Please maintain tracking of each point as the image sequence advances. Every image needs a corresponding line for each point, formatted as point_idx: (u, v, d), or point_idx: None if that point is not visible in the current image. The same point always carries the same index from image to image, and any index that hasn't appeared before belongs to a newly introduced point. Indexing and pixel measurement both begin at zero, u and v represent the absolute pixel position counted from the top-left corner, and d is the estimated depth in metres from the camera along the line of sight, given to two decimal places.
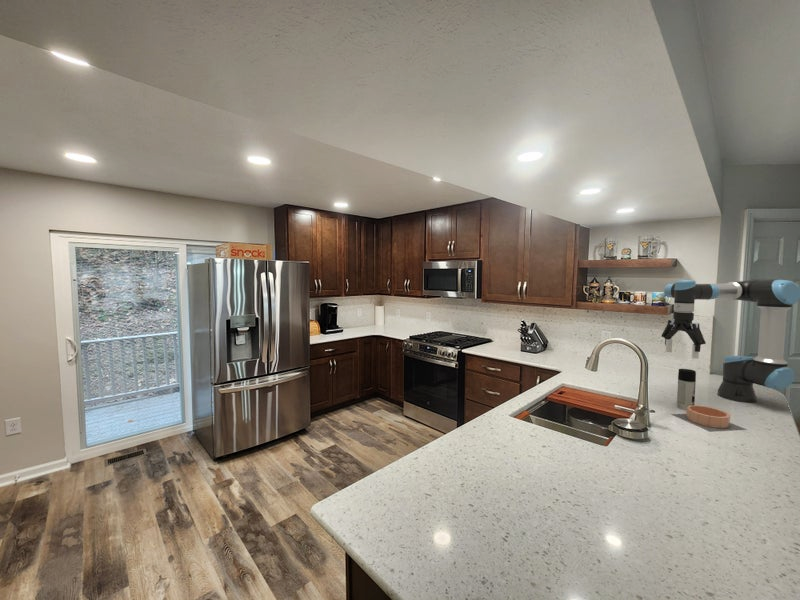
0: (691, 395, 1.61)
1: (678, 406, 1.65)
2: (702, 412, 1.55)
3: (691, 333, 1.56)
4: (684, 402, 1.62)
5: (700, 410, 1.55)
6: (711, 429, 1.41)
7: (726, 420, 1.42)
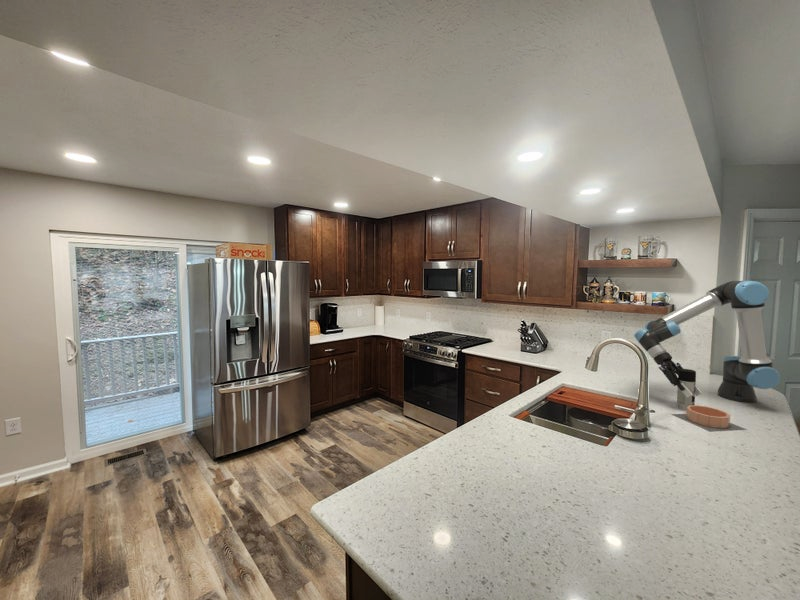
0: None
1: (678, 406, 1.65)
2: (702, 412, 1.55)
3: None
4: (684, 402, 1.62)
5: (700, 410, 1.55)
6: (711, 429, 1.41)
7: (726, 420, 1.42)
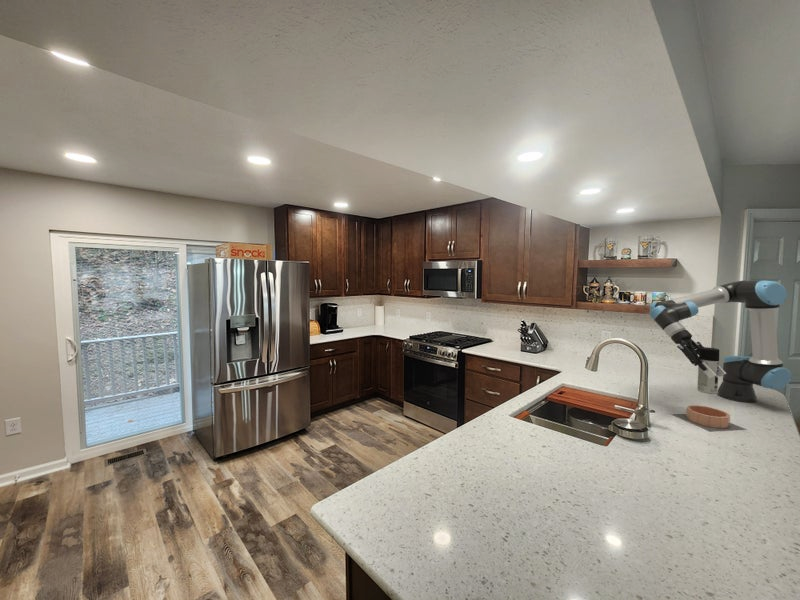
0: (714, 376, 1.45)
1: (699, 388, 1.49)
2: (702, 412, 1.55)
3: None
4: (706, 383, 1.47)
5: (700, 410, 1.55)
6: (711, 429, 1.41)
7: (726, 420, 1.42)
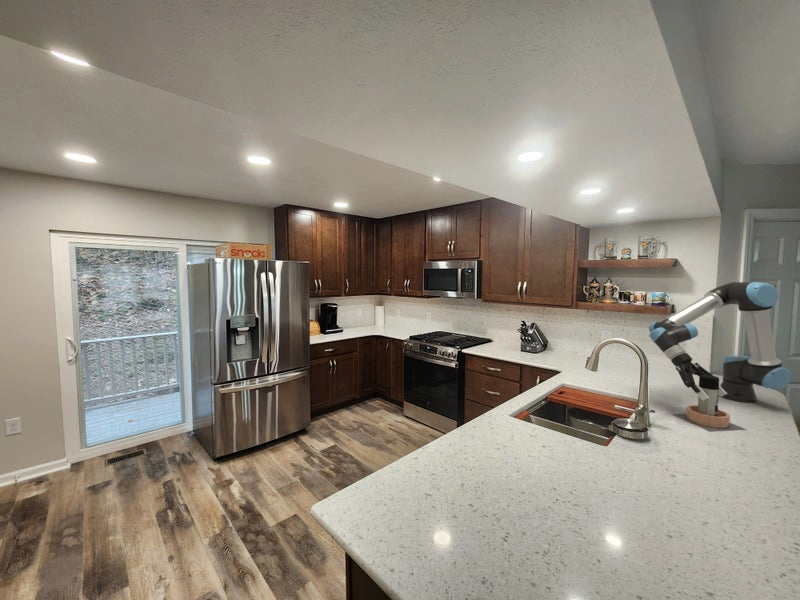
0: (714, 404, 1.46)
1: None
2: None
3: None
4: (706, 411, 1.47)
5: None
6: (711, 429, 1.41)
7: (726, 420, 1.42)
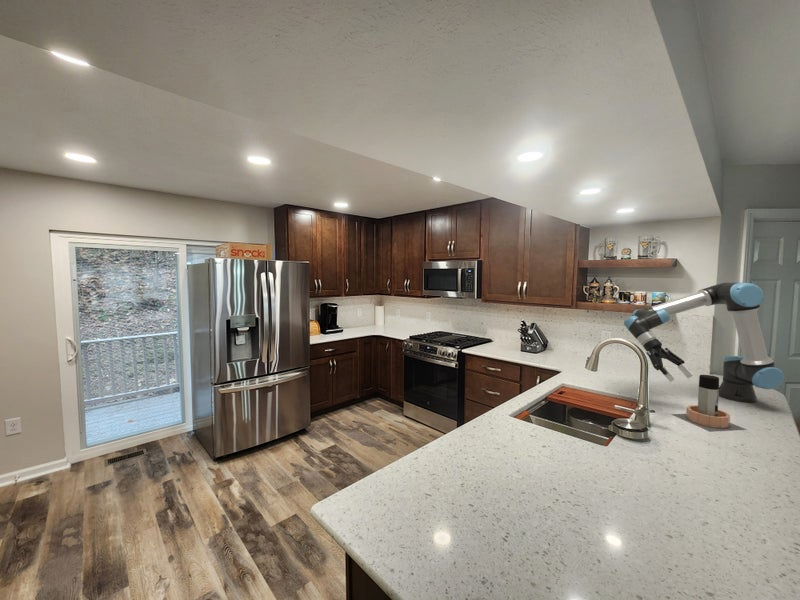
0: (714, 404, 1.46)
1: None
2: None
3: (656, 359, 1.64)
4: (706, 411, 1.47)
5: None
6: (711, 429, 1.41)
7: (726, 420, 1.42)
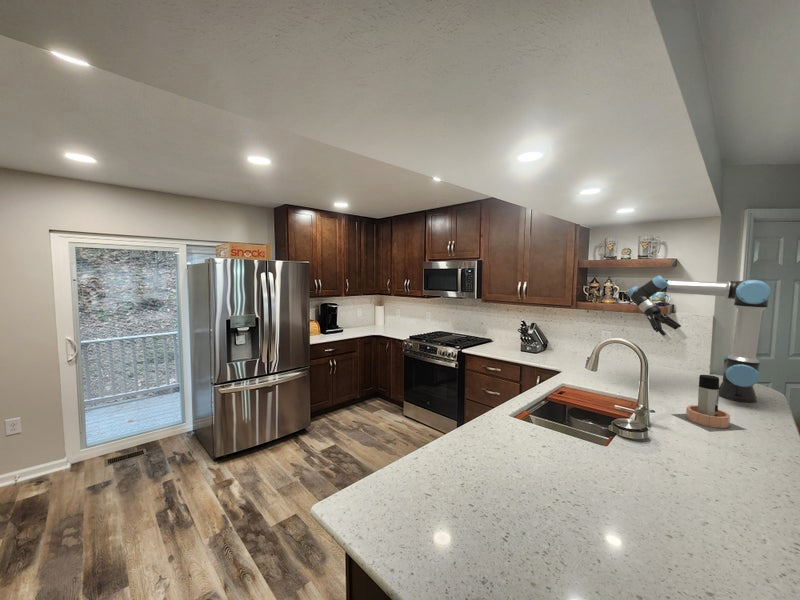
0: (714, 404, 1.46)
1: None
2: None
3: (656, 323, 1.84)
4: (706, 411, 1.47)
5: None
6: (711, 429, 1.41)
7: (726, 420, 1.42)
